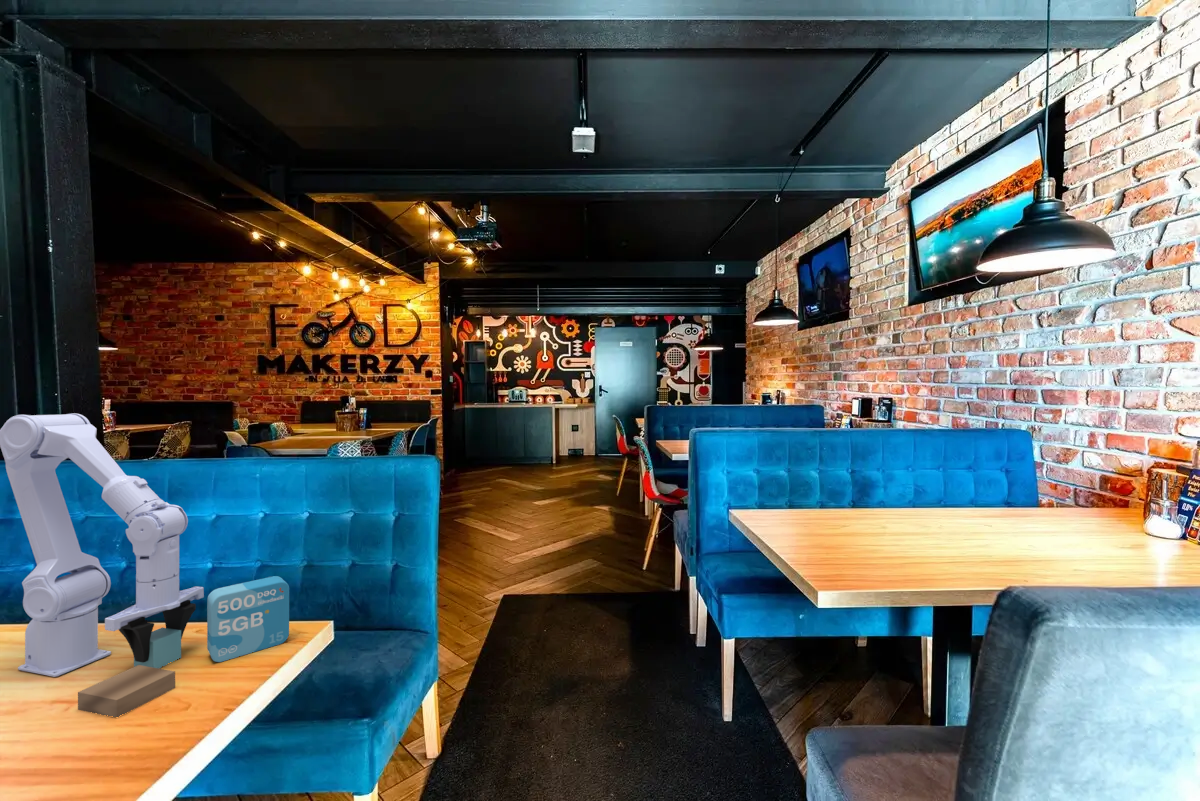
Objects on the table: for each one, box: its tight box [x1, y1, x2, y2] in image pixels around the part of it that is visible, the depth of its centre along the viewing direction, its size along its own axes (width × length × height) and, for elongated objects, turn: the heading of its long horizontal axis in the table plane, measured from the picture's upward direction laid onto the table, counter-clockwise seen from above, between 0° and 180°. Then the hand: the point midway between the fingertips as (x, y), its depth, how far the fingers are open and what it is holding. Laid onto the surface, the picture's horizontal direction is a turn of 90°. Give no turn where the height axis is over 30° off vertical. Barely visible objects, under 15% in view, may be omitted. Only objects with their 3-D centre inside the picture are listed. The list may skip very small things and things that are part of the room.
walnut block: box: [77, 665, 176, 718], centre depth 78 cm, size 8×8×3 cm
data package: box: [206, 575, 290, 663], centre depth 94 cm, size 12×4×12 cm, turn 136°
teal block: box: [133, 626, 182, 669], centre depth 89 cm, size 4×4×5 cm
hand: (158, 653), depth 89 cm, fingers closed on teal block, 4 cm apart
